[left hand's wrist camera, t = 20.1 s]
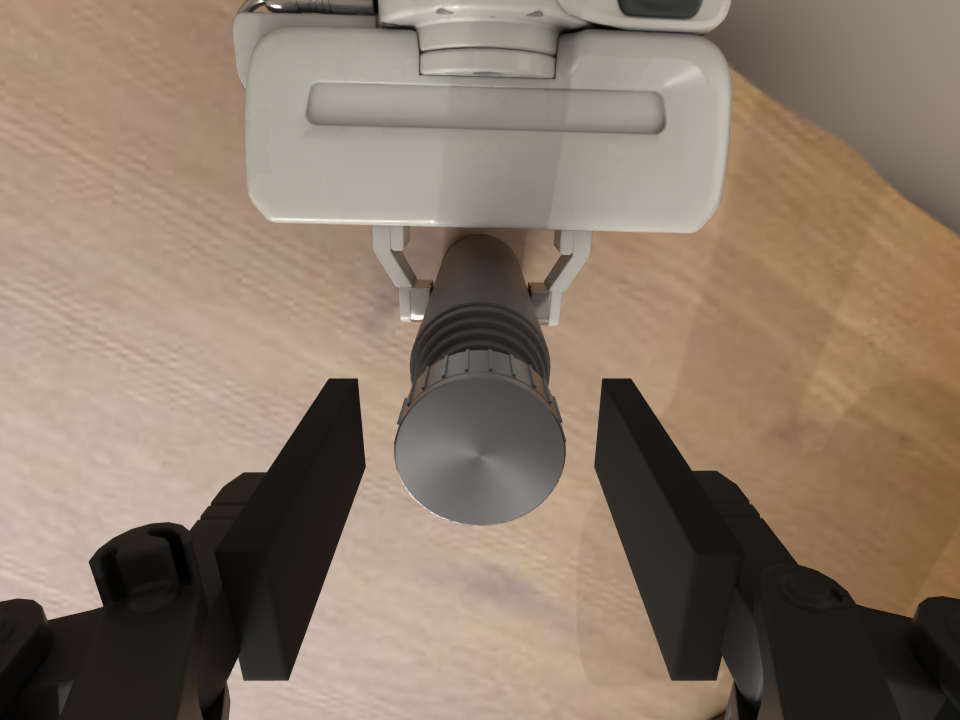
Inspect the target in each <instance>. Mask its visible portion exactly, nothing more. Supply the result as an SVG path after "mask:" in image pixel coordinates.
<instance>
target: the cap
mask: <svg viewBox="0 0 960 720" xmlns="http://www.w3.org/2000/svg"><path fill="white" fill-rule="evenodd" d="M561 422H562V419H561V415H560V412H559V409H558V405H557V402H556V399H555V396H553V397H552V395H551V392H550V390H549V388H548V385H547V382H546V380H545V379H542V378H541V377H540V376H539V375H538V374H537V373H536V371H534V370H533V369H532V366H531V365H530V364H529V365H527V364H525V363H524V362H522V361H520V360H519V359H516V358H514V357H513V355H512V354H510V355H507V354H503V353H500V352H495V351H492V349H488V351H487V350H474V351H469V349H467V350H466V351H465V352H460V353H457V354H454V355H451V356H448V355H446V356H445V357H444V359H442V360H440V361H438V362H436V363H435V364H433V365H432V366H427V367H426V371H425V372H423V374H422V375H421V376H420V377H419V378H418V379H417V381H413V383H412V386H411V390H410V393H409V395H408V398H407V399H406V398H405V399H404V402H403V406H402V409H401V412H400V416H399V419H398V422H397V424H398V425H399V428H398V431H397V434H396V438H395V441H394V445H395V446H394V454H395V463H396V467H397V471H398V474H399V476H400V478H401V481H402V483H403V485H404V486H405V488H406V489H407V491H408V492H409V493H410V495H411V496H412V497H413V498H414V499H415V500H416V501H417V502H418V503H419V504H420V505H422V506H423V507H424V508H425V509H427V510H428V511H430V512H431V513H433V514H435V515H437V516H439V517H441V518H444V519H446V520H449V521H452V522H456V523H459V524H465V525H476V526H485V525H495V524H501V523H505V522H508V521H511V520H514V519H517V518H519V517H521V516H523V515H525V514H527V513H529V512H530V511H532V510H533V509H535V508H536V507H537V506H539V505H540V504H541V503H542V502H543V501H544V500H545V499H546V498H547V497H548V496H549V495H550V493H551V492H552V491H553V489H554V488H555V486H556V484H557V483H558V481H559V479H560V476H561V474H562V471H563V467H564V464H565V456H566V448H565V442H566V439H565V435H564V432H563V429H562V425H561Z"/></svg>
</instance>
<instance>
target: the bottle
mask: <svg viewBox="0 0 960 720" xmlns="http://www.w3.org/2000/svg"><path fill="white" fill-rule="evenodd" d="M467 349H469V351H474V350H487V351H488V349H492V351H495V352H500V353H503V354H507V355H510V354H512V355H513V357H514V358H516V359H519V360H520V361H522V362H524V363H525V364H527V365H529V364H530V365H531V366H532V369H533V370H534V371H536V373H537V374H538V375H539V376H540V377H541V378H542V379H545V380H546V382H547V385H548V384H549V376H550V357H549V352H548V348H547V345H546V342H545V339H544V336H543V333H542V330H541V327H540V324H539V322H538V319H537V316H536V313H535V310H534V307H533V304H532V301H531V298H530V295H529V292H528V289H527V286H526V283H525V280H524V277H523V274H522V271H521V268H520V265H519V263H518V260H517V258H516V256H515V254H514V252H513V251H512V250H511V249H510V247H509V246H508V245H506V244H505V243H504V242H502V241H501V240H499V239H497V238H495V237H491V236H487V235H473V236H469V237H466V238H463V239H461V240H460V241H458V242H457V243H455V244H454V245H453V246H452V247H451V248H450V249H449V250H448V252H447V253H446V255H445V256H444V259H443V261H442V264H441V267H440V270H439V273H438V275H437V278H436V281H435V284H434V287H433V290H432V293H431V296H430V299H429V302H428V305H427V308H426V311H425V313H424V316H423V319H422V322H421V325H420V328H419V331H418V334H417V337H416V340H415V343H414V346H413V349H412V353H411V359H410V374H411V383H413V381H417V379H418V378H419V377H420V376H421V375H422V374H423V372H425V371H426V367H427V366H432V365H433V364H435V363H436V362H438V361H440V360H442V359H444V357H445V356H446V355H448V356H451V355H454V354H457V353H460V352H465V351H466V350H467Z"/></svg>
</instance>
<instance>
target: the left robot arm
mask: <svg viewBox="0 0 960 720" xmlns="http://www.w3.org/2000/svg"><path fill="white" fill-rule="evenodd" d="M365 467H366V465H365V454H364V443H363V432H362V421H361V410H360V399H359V388H358V379H328V381H327V382H326V384H325V385H324V387H323V388H322V390H321V391H320V393H319V395H318V396H317V398H316V399H315V401H314V402H313V404H312V405H311V407H310V408H309V410H308V411H307V413H306V414H305V416H304V417H303V419H302V420H301V422H300V423H299V425H298V426H297V428H296V429H295V431H294V432H293V434H292V435H291V437H290V438H289V440H288V441H287V443H286V444H285V446H284V447H283V449H282V450H281V452H280V453H279V455H278V456H277V458H276V459H275V461H274V462H273V464H272V465H271V467H270V469H269V470H268V472H244V473H242V474H241V475H239V476H238V477H237V478H235V479H234V480H232V481H231V482H229V483H228V484H226V485H225V486H224V487H223V488H222V489H221V490H220V492H219V493H218V494H217V496H216V497H215V498H214V500H213V501H212V502H211V506H208V507H207V509H206V510H205V511H204V513H203V514H202V515H201V519H200V520H198V521H197V522H196V523H195V524H194V526H193V527H192V528H191V530H190V531H189V530H187V529H186V528H185V527H184V526H183V525H180V524H175V523H170V522H165V523H153V524H148V525H144V526H141V527H137V528H134V529H131V530H129V531H127V532H125V533H123V534H121V535H119V536H116V537H114V538H113V539H111V540H110V541H109V542H107V543H106V544H105V545H103V546H102V547H101V548H99V549H98V550H97V552H96V553H95V554H94V555H93V557H92V558H91V559H90V561H89V564H90V567H91V570H92V573H93V576H94V579H95V582H96V585H97V588H98V591H99V594H100V597H101V600H102V603H103V607H101V608H97V609H94V610H90V611H86V612H81V613H77V614H73V615H69V616H64V617H60V618H56V619H52V620H47V618H46V615H45V613H44V610H43V608H42V606H41V605H39V604H38V603H37V602H35V601H34V600H28V599H13V600H7V601H2V602H0V720H229V711H230V696H229V690H228V686H227V679H228V677H229V675H230V673H231V671H232V669H233V667H234V665H235V663H236V661H237V658H239V662H240V667H241V671H242V675H243V680H244V681H288V680H289V678H290V675H291V672H292V669H293V666H294V664H295V661H296V658H297V655H298V653H299V650H300V647H301V644H302V642H303V639H304V636H305V633H306V631H307V628H308V625H309V622H310V619H311V617H312V614H313V611H314V608H315V606H316V603H317V600H318V597H319V595H320V592H321V589H322V586H323V584H324V581H325V578H326V575H327V572H328V570H329V567H330V564H331V561H332V559H333V556H334V553H335V550H336V548H337V545H338V542H339V539H340V536H341V534H342V531H343V528H344V525H345V523H346V520H347V517H348V514H349V512H350V509H351V506H352V503H353V501H354V498H355V495H356V492H357V489H358V487H359V484H360V481H361V478H362V476H363V473H364V470H365ZM594 467H595V470H596V473H597V476H598V478H599V481H600V484H601V487H602V489H603V492H604V495H605V498H606V501H607V503H608V506H609V509H610V512H611V514H612V517H613V520H614V523H615V525H616V528H617V531H618V534H619V536H620V539H621V542H622V545H623V548H624V550H625V553H626V556H627V559H628V561H629V564H630V567H631V570H632V572H633V575H634V578H635V581H636V584H637V586H638V589H639V592H640V595H641V597H642V600H643V603H644V606H645V608H646V611H647V614H648V617H649V619H650V622H651V625H652V628H653V631H654V633H655V636H656V639H657V642H658V644H659V647H660V650H661V653H662V655H663V658H664V661H665V664H666V666H667V669H668V672H669V675H670V678H671V680H672V681H716V680H717V675H718V671H719V667H720V662H721V658H722V656H723V658H724V660H725V662H726V664H727V666H728V668H729V670H730V672H731V675H732V677H733V679H734V682H733V686H732V690H731V694H730V698H729V702H728V706H727V710H726V714H725V715H722V716H720V717H718V718H716V719H714V720H960V599H955V598H950V597H944V596H941V597H930V598H927V599H925V600H924V601H922V602H921V603H920V604H919V605H918V608H917V610H916V613H915V615H914V618H910V617H905V616H901V615H897V614H893V613H888V612H884V611H880V610H875V609H871V608H867V607H864V606H860V605H857V604H856V603H855V602H854V600H853V599H852V597H851V596H850V594H849V593H848V592H847V591H846V590H845V589H844V588H843V587H841V586H840V585H839V584H838V583H837V582H836V581H834V580H833V579H831V578H829V577H827V576H826V575H824V574H822V573H820V572H818V571H816V570H813V569H810V568H807V567H804V566H801V565H798V564H797V562H796V561H795V560H794V559H793V557H792V556H791V555H790V553H789V552H788V551H787V549H786V548H785V547H784V545H783V544H782V543H781V542H780V540H779V539H778V538H777V536H776V535H775V534H774V532H773V531H772V530H771V529H770V527H769V526H768V525H767V523H766V522H765V521H764V519H763V518H760V514H759V513H758V512H757V510H756V509H755V508H754V506H753V505H752V504H750V503H749V500H748V499H747V497H746V496H745V495H744V493H743V492H742V491H741V490H740V488H739V487H738V486H737V485H736V484H735V483H733V482H732V481H731V480H729V479H728V478H726V477H725V476H723V475H722V474H720V473H719V472H717V471H692V470H691V469H690V467H689V465H688V464H687V462H686V461H685V459H684V458H683V456H682V455H681V453H680V452H679V450H678V449H677V447H676V446H675V444H674V443H673V441H672V440H671V438H670V437H669V435H668V434H667V432H666V431H665V429H664V428H663V426H662V425H661V423H660V422H659V420H658V419H657V417H656V416H655V414H654V413H653V411H652V410H651V408H650V407H649V405H648V404H647V402H646V401H645V399H644V398H643V396H642V395H641V393H640V391H639V390H638V388H637V387H636V385H635V384H634V382H633V381H632V379H602V388H601V399H600V410H599V421H598V432H597V443H596V454H595V465H594Z"/></svg>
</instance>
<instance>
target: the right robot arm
mask: <svg viewBox="0 0 960 720" xmlns="http://www.w3.org/2000/svg"><path fill="white" fill-rule="evenodd" d="M731 1H732V0H246V1H245V3H244V4H243V5H242V6H241V7H240V9H239V11H238V13H237V14H236V16H235V18H234V21H233V41H234V50H235V58H236V66H237V71H238V75H239V78H240V81H241V83H242V85H243V87H244V89H245V90H246V97H245V163H246V178H247V188H248V194H249V197H250V200H251V201H252V203H253V204H254V205H255V206H256V207H257V208H258V210H259V211H260V212H261V213H262V214H263V215H264V216H265V217H266V218H267V220H269V221H271V222H275V223H310V224H349V225H372V235H373V251H374V253H375V254H376V256H377V257H378V259H379V261H380V262H381V264H382V265H383V267H384V268H385V270H386V272H387V273H388V275H389V276H390V278H391V279H392V281H393V283H394V284H395V286H396V287H399V299H400V319H401V322H422V319H423V316H424V313H425V311H426V308H427V305H428V302H429V299H430V296H431V293H432V290H433V280H418V279H417V278H416V276H415V274H414V272H413V271H412V269H411V267H410V265H409V264H408V262H407V260H406V258H405V257H404V255H403V253H402V250H403V249H404V247H405V246H406V245H407V244H408V242H409V226H428V227H467V228H507V229H546V230H555V233H554V246H555V247H556V248H557V250H558V251H559V252H560V253H561V254H562V255H561V256H560V258H559V259H558V261H557V262H556V264H555V265H554V267H553V269H552V270H551V272H550V273H549V275H548V276H547V278H546V279H545V281H544V282H545V283H528V292H529V295H530V298H531V301H532V304H533V307H534V310H535V313H536V316H537V319H538V322H539V324H540V325H547V326H548V325H549V326H558V325H559V321H560V311H561V299H562V291H565V290H566V289H567V288H568V286H569V285H570V283H571V282H572V281H573V279H574V278H575V276H576V275H577V273H578V272H579V271H580V269H581V268H582V266H583V265H584V264H585V262H586V261H587V259H588V258H589V257H590V248H591V239H592V231H625V232H664V233H694V232H697V231H698V230H699V229H700V228H701V227H703V226H704V225H705V223H706V222H707V221H708V220H709V219H710V218H711V217H712V216H713V215H714V214H715V212H716V211H717V209H718V207H719V204H720V201H721V196H722V192H723V186H724V180H725V174H726V167H727V159H728V150H729V140H730V128H731V110H732V83H731V75H730V70H729V67H728V64H727V61H726V59H725V57H724V55H723V54H722V52H721V51H720V49H719V48H718V47H717V46H716V45H715V44H714V43H713V42H711V41H710V40H708V39H706V38H704V37H703V36H704V35H706V34H707V33H709V32H710V31H711V30H713V29H714V28H715V27H717V26H718V25H719V24H720V23H721V22H722V21H723V20H724V19H725V17H726V15H727V13H728V11H729V8H730V4H731ZM263 5H266V8H267V9H268V11H269V12H273V13H262V12H253V11H254V10H256V9H257V8H259V7H260V6H263ZM303 13H320V14H303ZM377 15H378V18H377Z"/></svg>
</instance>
